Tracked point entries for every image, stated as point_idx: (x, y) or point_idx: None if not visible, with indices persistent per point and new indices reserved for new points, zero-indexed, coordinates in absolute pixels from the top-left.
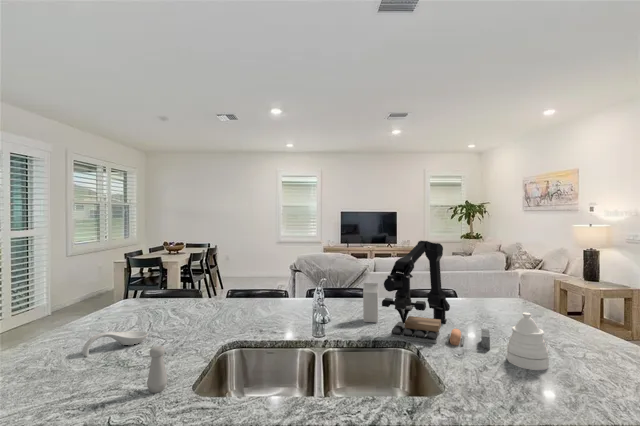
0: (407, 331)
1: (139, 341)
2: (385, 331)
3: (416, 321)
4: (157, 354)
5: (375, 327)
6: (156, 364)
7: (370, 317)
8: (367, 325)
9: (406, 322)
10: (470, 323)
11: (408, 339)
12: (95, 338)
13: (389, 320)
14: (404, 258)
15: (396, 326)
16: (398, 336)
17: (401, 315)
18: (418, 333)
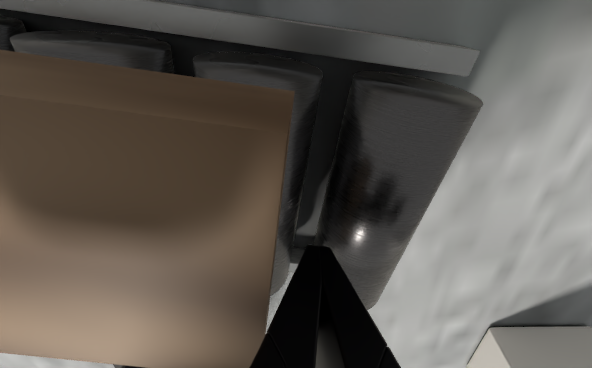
0: (256, 72)
1: None
2: (476, 200)
3: (61, 224)
4: None
5: (537, 261)
6: None
7: (565, 362)
8: (589, 283)
9: (240, 125)
10: (24, 364)
11: (254, 15)
12: None
13: (401, 356)
14: None
15: (419, 170)
16: (378, 35)
17: (368, 362)
18: (95, 45)
